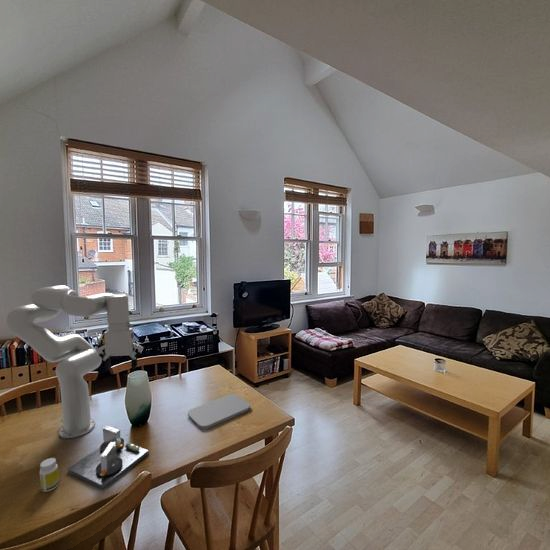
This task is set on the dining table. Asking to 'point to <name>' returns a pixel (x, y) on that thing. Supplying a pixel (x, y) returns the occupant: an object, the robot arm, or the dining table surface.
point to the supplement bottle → (49, 475)
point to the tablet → (218, 411)
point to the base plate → (88, 464)
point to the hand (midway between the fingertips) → (121, 368)
